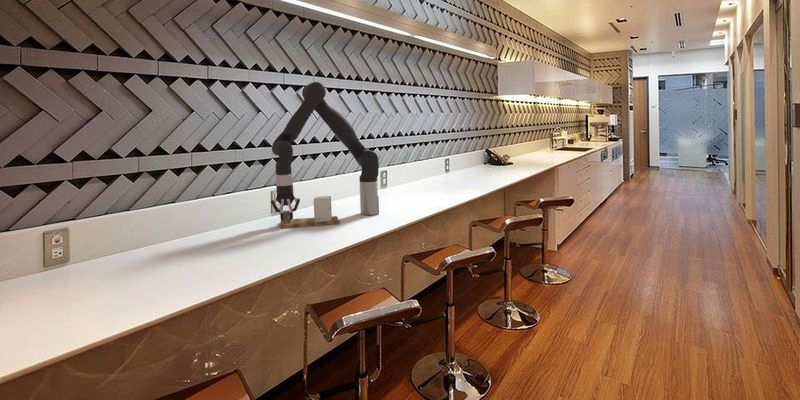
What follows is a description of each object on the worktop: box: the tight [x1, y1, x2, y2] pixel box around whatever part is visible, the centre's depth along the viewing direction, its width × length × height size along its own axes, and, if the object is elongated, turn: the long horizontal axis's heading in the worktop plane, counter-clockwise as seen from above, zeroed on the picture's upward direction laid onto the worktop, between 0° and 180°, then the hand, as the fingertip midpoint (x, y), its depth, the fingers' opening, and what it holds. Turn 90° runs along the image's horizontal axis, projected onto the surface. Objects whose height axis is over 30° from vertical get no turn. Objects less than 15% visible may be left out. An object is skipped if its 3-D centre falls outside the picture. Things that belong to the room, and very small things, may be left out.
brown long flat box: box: [279, 210, 341, 229], centre depth 210 cm, size 27×12×6 cm, turn 104°
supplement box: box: [313, 195, 333, 222], centre depth 211 cm, size 7×7×13 cm
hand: (286, 220), depth 208 cm, fingers closed on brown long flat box, 3 cm apart
